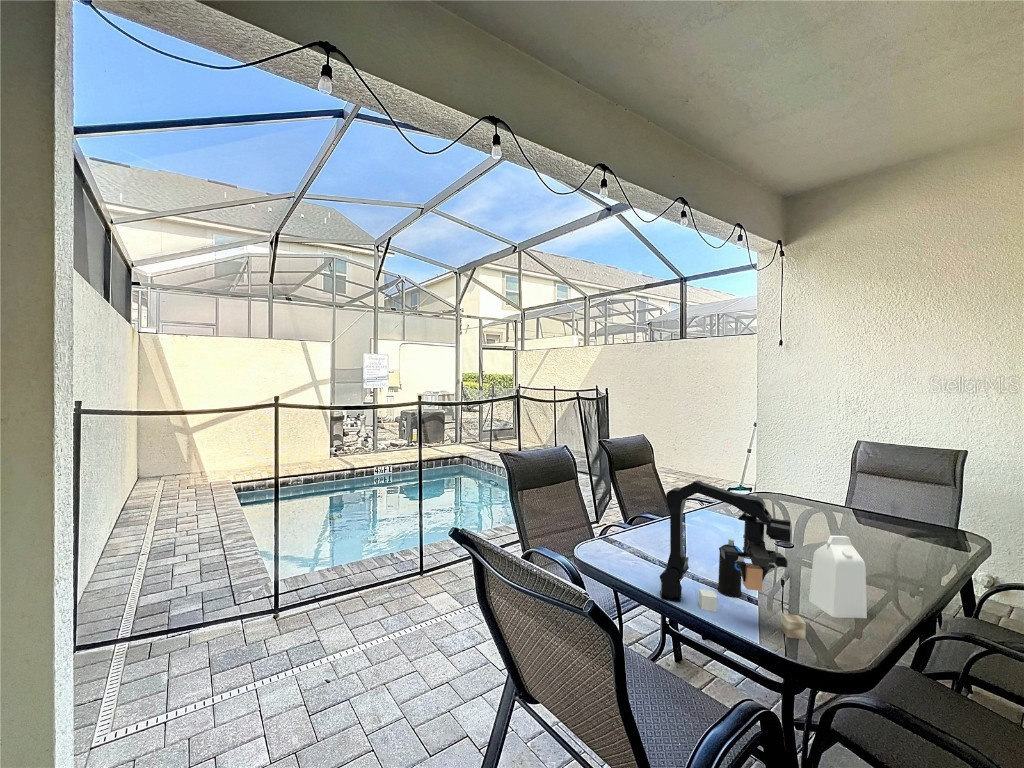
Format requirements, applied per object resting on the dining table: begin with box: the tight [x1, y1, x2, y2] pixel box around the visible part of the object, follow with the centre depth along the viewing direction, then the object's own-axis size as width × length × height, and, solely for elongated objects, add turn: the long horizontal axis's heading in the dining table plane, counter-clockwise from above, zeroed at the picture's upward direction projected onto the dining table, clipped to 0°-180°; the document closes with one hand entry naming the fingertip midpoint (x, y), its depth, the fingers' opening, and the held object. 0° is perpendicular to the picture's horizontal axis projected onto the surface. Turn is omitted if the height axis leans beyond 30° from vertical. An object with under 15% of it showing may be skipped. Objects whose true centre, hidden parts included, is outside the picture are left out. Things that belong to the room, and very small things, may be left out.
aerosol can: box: [717, 538, 743, 598], centre depth 162 cm, size 8×8×20 cm
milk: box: [808, 535, 868, 619], centre depth 153 cm, size 12×12×26 cm
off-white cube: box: [698, 588, 718, 613], centre depth 150 cm, size 5×5×5 cm
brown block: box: [742, 562, 763, 592], centre depth 142 cm, size 4×4×7 cm
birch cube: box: [780, 612, 807, 641], centre depth 135 cm, size 5×5×5 cm
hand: (752, 582), depth 142 cm, fingers closed on brown block, 4 cm apart
